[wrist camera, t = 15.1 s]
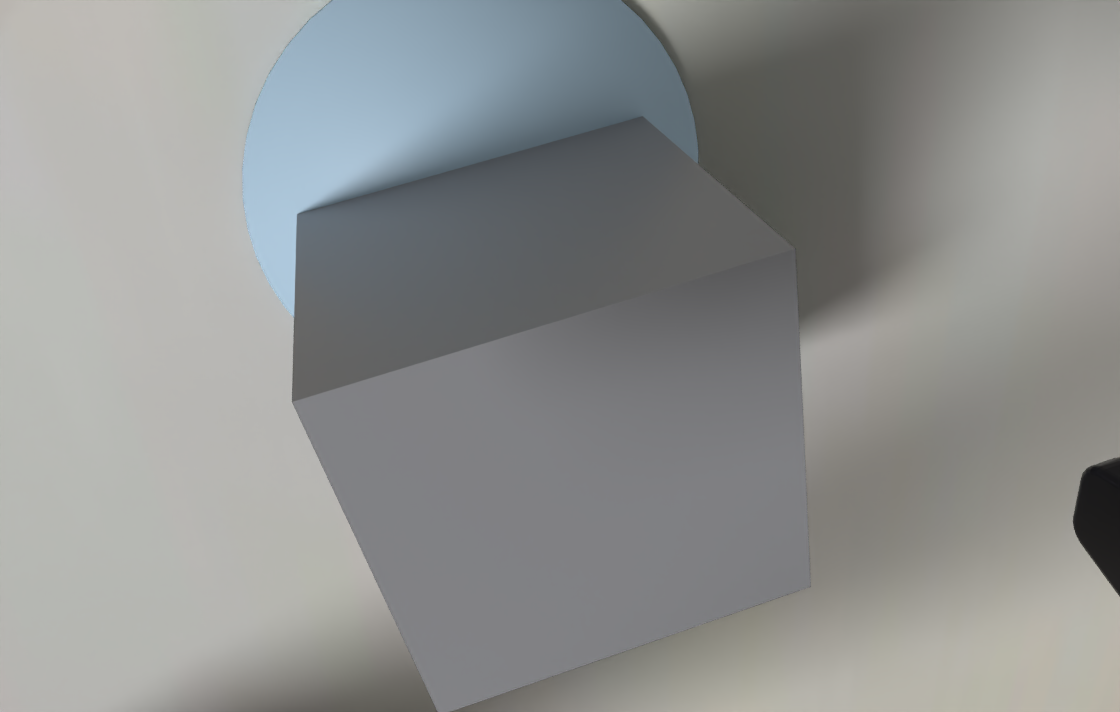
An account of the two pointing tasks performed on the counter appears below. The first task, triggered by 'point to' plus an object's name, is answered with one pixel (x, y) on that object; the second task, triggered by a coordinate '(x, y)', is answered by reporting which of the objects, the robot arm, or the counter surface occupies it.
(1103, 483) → the robot arm
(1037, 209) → the counter surface
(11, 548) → the counter surface
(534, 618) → the matte grey cuboid
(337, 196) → the disc
